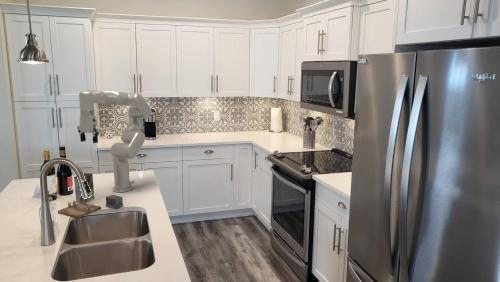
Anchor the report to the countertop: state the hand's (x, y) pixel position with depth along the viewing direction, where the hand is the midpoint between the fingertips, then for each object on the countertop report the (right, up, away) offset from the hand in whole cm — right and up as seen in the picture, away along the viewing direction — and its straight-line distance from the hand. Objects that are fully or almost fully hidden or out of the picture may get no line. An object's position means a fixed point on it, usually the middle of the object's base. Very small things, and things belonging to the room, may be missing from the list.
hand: (89, 142), depth 215 cm
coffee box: (-5, -36, +7) cm, 37 cm away
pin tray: (-1, -39, -9) cm, 40 cm away
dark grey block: (+16, -38, -2) cm, 41 cm away
